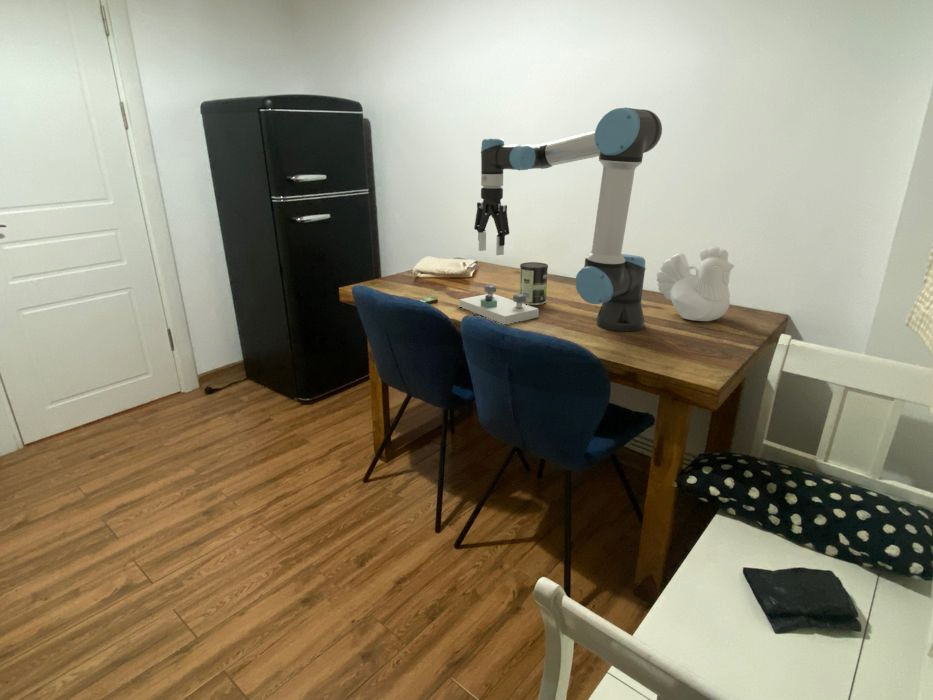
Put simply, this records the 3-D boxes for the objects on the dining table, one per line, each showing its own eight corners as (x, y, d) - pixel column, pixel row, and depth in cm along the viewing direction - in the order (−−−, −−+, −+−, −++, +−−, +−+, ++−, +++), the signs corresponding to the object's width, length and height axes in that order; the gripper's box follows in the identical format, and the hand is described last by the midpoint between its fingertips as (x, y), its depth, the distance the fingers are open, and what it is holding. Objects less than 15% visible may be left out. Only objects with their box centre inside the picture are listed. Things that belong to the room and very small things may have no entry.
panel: (538, 317, 187) (538, 308, 186) (504, 325, 179) (505, 316, 178) (491, 300, 207) (491, 293, 206) (459, 307, 199) (459, 299, 197)
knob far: (498, 299, 199) (498, 286, 198) (489, 301, 197) (489, 288, 195) (491, 296, 203) (491, 284, 201) (481, 298, 200) (481, 286, 198)
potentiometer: (496, 306, 189) (497, 296, 188) (487, 308, 187) (487, 297, 186) (489, 303, 192) (489, 293, 191) (480, 305, 190) (480, 295, 189)
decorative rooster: (736, 321, 182) (750, 247, 173) (706, 329, 174) (718, 252, 166) (674, 304, 202) (684, 236, 193) (645, 310, 194) (653, 240, 186)
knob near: (528, 309, 187) (528, 295, 185) (518, 311, 185) (518, 297, 183) (519, 306, 190) (520, 293, 189) (510, 308, 188) (510, 295, 186)
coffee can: (547, 298, 210) (548, 262, 205) (545, 306, 200) (547, 268, 195) (520, 297, 212) (521, 261, 207) (517, 304, 202) (518, 267, 197)
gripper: (464, 185, 192) (464, 249, 200) (504, 189, 175) (502, 258, 183) (481, 184, 196) (480, 247, 204) (521, 188, 179) (519, 256, 187)
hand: (490, 252), depth 194 cm, fingers open, 9 cm apart
